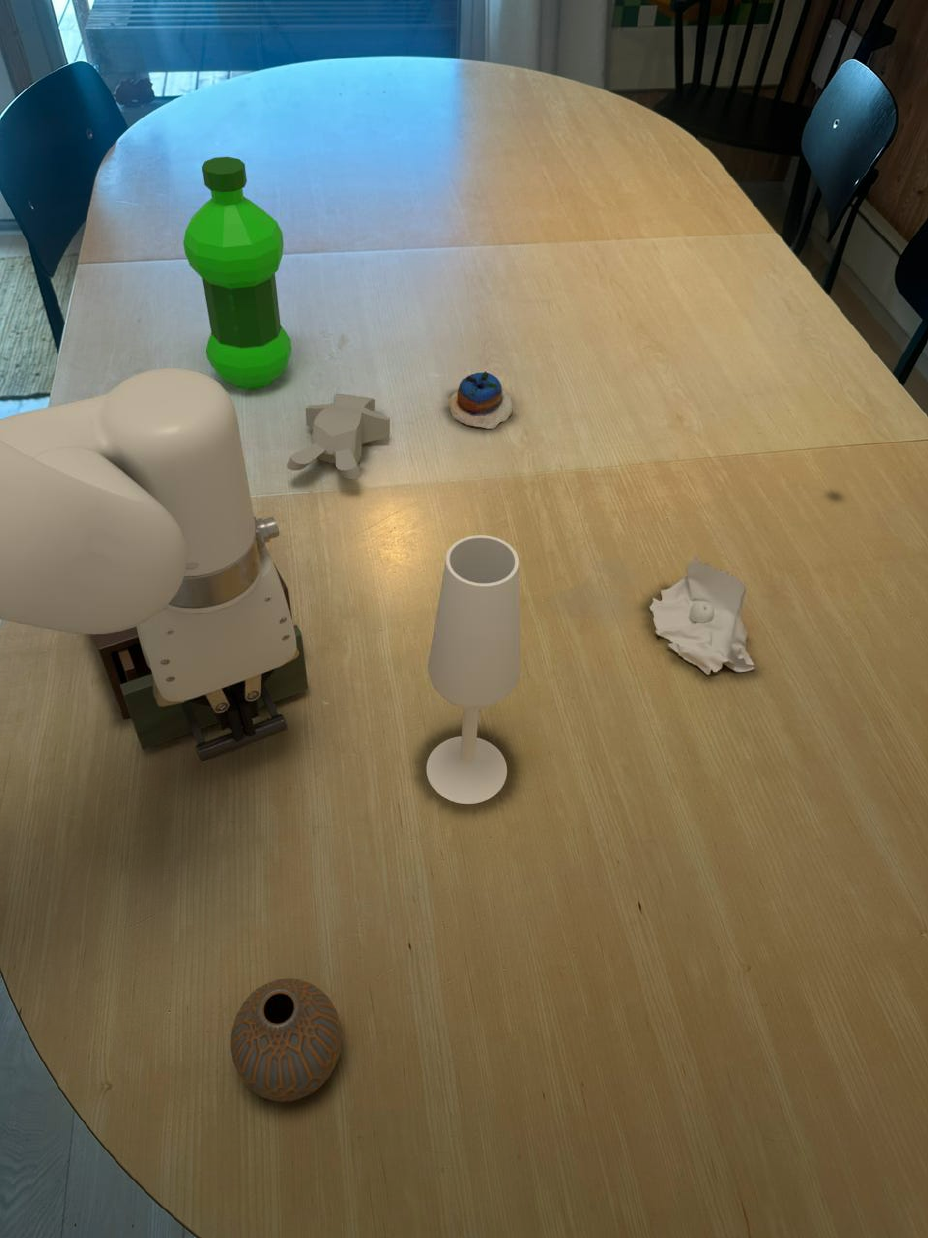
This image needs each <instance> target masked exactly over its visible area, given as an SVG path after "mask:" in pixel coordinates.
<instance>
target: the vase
mask: <svg viewBox="0 0 928 1238" xmlns="http://www.w3.org/2000/svg"><path fill="white" fill-rule="evenodd" d="M342 1037H343V1035H342V1023H341V1020H340V1016H339V1014H338V1011H337V1009H336V1007H335V1004H334V1003H333V1001H332V1000H331V999H330V997H329V996H328V995H327V994H326V993H325V992H324V991H323V990H322V989H320V988H319V987H318V986H316V985H314V984H313V983H311V982H308V981H307V980H302V979H298V978H291V977H289V978H279V979H274V980H271V981H268V982H267V983H265V984H263V985H261V986H259V987H258V988H257V989H255V990H254V991H252V993H251V994H249V996H247V998H246V999H245V1000H244V1002H242V1004H241V1006H240V1007H239V1009H238V1011H237V1013H236V1015H235V1018H234V1021H233V1023H232V1028H231V1033H230V1054H231V1058H232V1062H233V1065H234V1068H235V1070H236V1072H237V1074H238V1076H239V1077H240V1079H241V1081H243V1083H244V1084H245V1085H246V1086H247V1087H248V1089H250V1090H251V1091H252V1092H253V1093H255V1094H256V1095H258V1096H260V1097H262V1098H264V1099H267V1100H270V1101H274V1102H291V1101H296V1100H300V1099H303V1098H305V1097H307V1096H309V1095H311V1094H312V1093H314V1092H316V1091H317V1090H319V1088H320V1087H322V1086H323V1085H324V1083H325V1082H327V1080H328V1079H329V1078H330V1076H331V1075H332V1073H333V1071H334V1070H335V1068H336V1065H337V1063H338V1061H339V1058H340V1056H341V1055H340V1054H341V1050H342V1041H343V1038H342Z"/></svg>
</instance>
